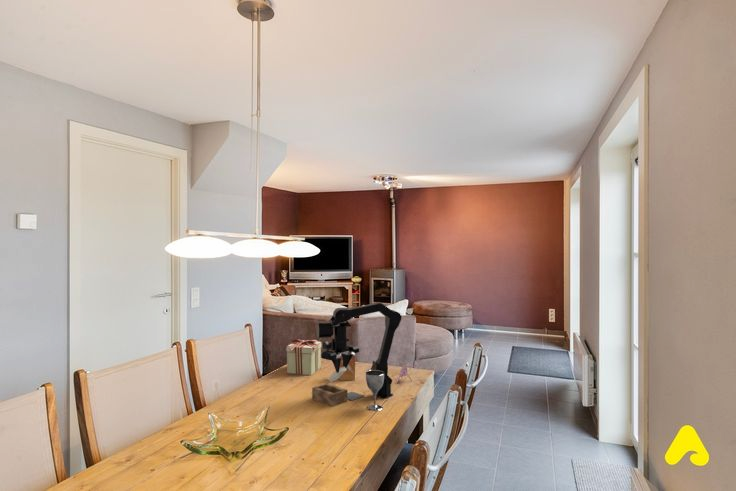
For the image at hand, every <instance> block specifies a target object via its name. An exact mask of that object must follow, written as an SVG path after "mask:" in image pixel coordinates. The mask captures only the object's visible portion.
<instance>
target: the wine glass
mask: <svg viewBox="0 0 736 491" xmlns="http://www.w3.org/2000/svg"><path fill="white" fill-rule="evenodd" d="M365 383H366V387H367V388H368V389H369V390H370V392H371V393H372V396H373V404H368V405H367V406H366V409H367V410H368V411H371V412H379V411H382V410H383V409H384V407H383V406H382V405H380V404H377V403H376V402H377V396H376V395H377V393H378V391H379V390H380V389H381V388H382V386H383V383H384V372H383V371H380V370H371V369H370V370H367V371H366V372H365Z"/></svg>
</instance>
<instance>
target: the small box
mask: <svg viewBox="0 0 736 491" xmlns="http://www.w3.org/2000/svg"><path fill="white" fill-rule="evenodd" d="M351 352H352V354H354V356H352V358H351V360H350V362H349V364H348V366H347V368H346V371H345V372H344V373H343V374H342V375H341V376H340V377H339V378H338V379H339V381H355V380H356V353H354V352H353V351H351ZM339 358H341V363H340V367H343V358H342V356H341V354H340V355H339Z"/></svg>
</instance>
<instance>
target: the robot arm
mask: <svg viewBox="0 0 736 491" xmlns="http://www.w3.org/2000/svg"><path fill="white" fill-rule="evenodd" d="M378 312H379V313H380V314H381V315H383V316H384V325H385V327H384V328H385V329H384V334H383V337H382V342H381V345H380V350H379V354H378V357H377V359H376V361H375V360H372V364H371V365H372V366H371V367H370V370H380V371H383V372H384V383H383V386H382V388H381V389H380V390H379V391H378V393H377V395H376V397H378V398H382V399H388V398H389V397H392V396H394V394H393V393H392V382H393V379H392V378H391V377H390V376H389V375H388V374H389V367H388V366H389V365H388V364H389V363H388V360H389V357H390V353H391V348H392V345H393V340H394V336H395V332H396V331H397V330H398V328H399V327H400V324H401V322H402V314H401V313H400V312H398V311H397V310H394V309H390V308H389V307H387V306H386V305H384V303H382V302H379V301H376V302H374V303H370V304H365V305H360V306H354V307H337V308H335V309H334V310H333V313H332V315H331V318H330V319H329V321H328V322H317V328H316V334H317V339H326V338H331V337H334V338H332V339H331V342H328V340H327V341H324V342H322V349H323V350H325V351H321V360H322V359H323V360H326V361H331V362H332V364H333V366H334V369H335V371H336V372H337V373H338V372H339V369H340V363H341V358H339V355H340V354H341V356H342V358H343V367H344V366H345V368H347V366H348V364H349V362H350V360H351V358H352V356H354V354H352V352H354V353H355V354H357V353H360V347H359V346H358V345H356V344H355V345H354V344H349V345H348V342H349V341H350V338H348V327H349V328H350V327H352V324H351V323H349V321H351V319H353V318H355V317H360V316H365V315H369V314H373V313H378Z"/></svg>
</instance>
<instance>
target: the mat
mask: <svg viewBox="0 0 736 491" xmlns="http://www.w3.org/2000/svg"><path fill="white" fill-rule="evenodd" d="M364 397H365V395H364V394H361V393H357V392H355V391H350V392H347V401H351V402H353V401H356V400H359V399H361V398H364Z"/></svg>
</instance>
